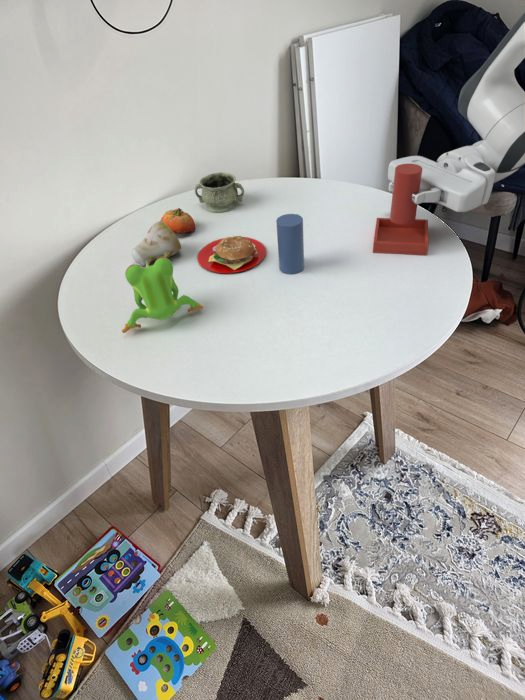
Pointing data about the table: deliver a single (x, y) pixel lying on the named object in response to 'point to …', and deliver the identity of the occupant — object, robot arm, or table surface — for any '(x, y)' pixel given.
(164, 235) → the mug
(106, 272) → the table surface
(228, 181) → the vessel
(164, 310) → the toy
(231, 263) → the hamburger
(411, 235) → the red tray
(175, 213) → the tomato
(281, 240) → the blue canister
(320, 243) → the table surface
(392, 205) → the red canister
